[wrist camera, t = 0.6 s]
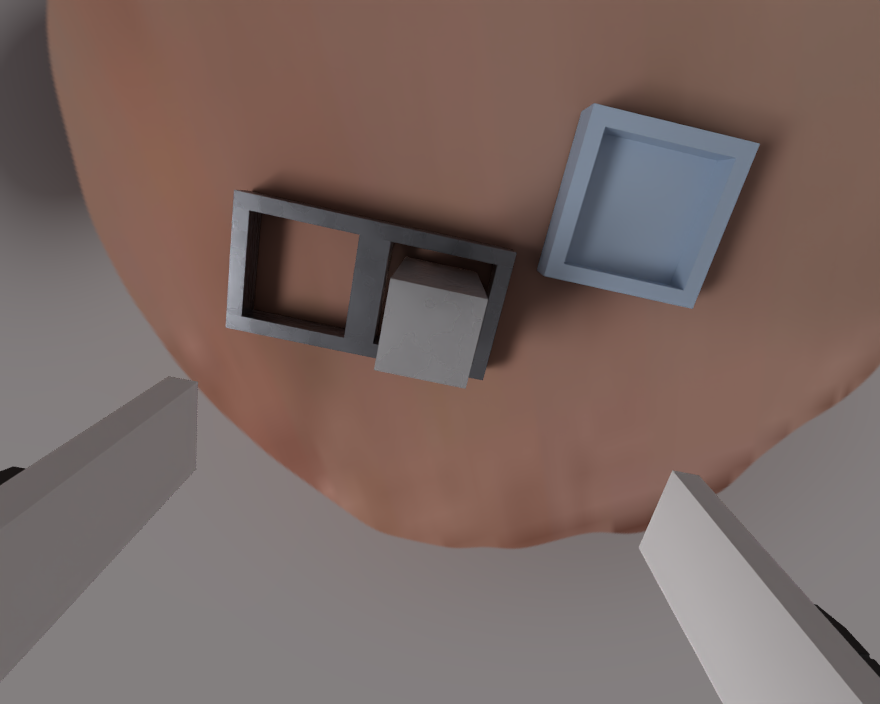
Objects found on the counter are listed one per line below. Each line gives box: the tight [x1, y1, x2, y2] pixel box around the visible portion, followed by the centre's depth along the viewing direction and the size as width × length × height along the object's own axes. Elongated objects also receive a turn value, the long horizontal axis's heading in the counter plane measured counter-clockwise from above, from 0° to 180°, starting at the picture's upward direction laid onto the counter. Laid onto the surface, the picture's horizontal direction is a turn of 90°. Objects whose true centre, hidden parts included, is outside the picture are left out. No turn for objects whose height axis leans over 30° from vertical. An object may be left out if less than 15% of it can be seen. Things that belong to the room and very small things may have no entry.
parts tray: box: [537, 103, 760, 309], centre depth 28 cm, size 10×10×2 cm
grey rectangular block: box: [374, 257, 488, 389], centre depth 27 cm, size 5×5×9 cm
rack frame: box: [226, 190, 517, 380], centre depth 30 cm, size 9×18×2 cm, turn 78°
